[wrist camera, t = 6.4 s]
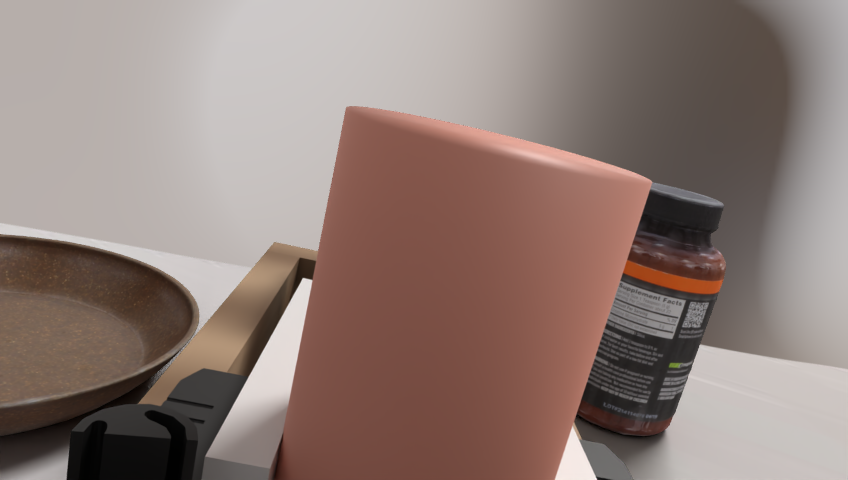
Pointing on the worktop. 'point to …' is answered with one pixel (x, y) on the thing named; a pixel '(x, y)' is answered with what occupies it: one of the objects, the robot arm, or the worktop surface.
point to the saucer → (81, 328)
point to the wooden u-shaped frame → (243, 321)
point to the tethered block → (453, 303)
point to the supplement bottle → (656, 315)
